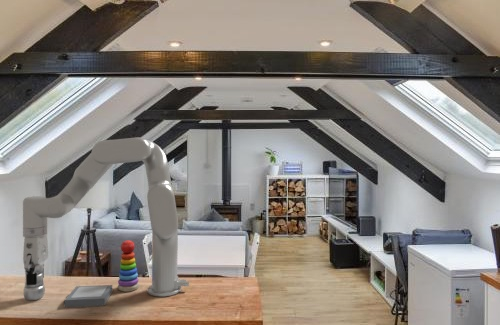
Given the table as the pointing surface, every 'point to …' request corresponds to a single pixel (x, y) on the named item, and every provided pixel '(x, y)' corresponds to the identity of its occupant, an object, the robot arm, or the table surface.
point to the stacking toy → (128, 268)
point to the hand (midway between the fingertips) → (35, 281)
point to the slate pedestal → (88, 296)
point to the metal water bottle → (35, 290)
